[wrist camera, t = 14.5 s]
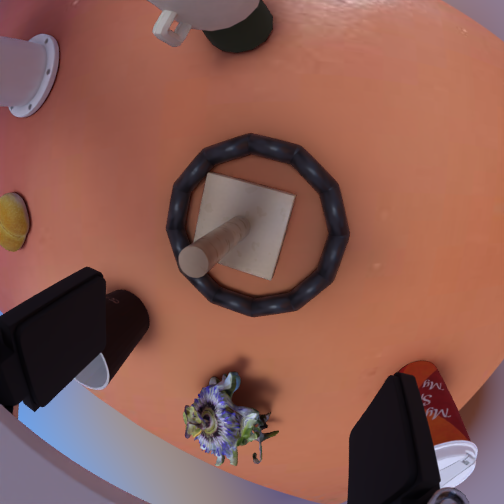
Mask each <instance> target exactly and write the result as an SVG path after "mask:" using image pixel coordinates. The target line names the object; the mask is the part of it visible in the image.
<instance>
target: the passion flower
mask: <svg viewBox="0 0 504 504" xmlns="http://www.w3.org/2000/svg"><path fill="white" fill-rule="evenodd" d="M240 383H241V379H240V376H239V374H238V373H237V372H230V373H229V375H228V376H227V374H223V377H222V381H220V380H219V379H217V378H216V377H212V378H211V379H210V382H209V386H207V387H205V388H202V390H201V393H200V394H198V396H199V397H198V399H195V401H194V403H193V404H192V405H191V406H190V407H189V406H188V405H186V406H185V410H184V413H183V417H184V422H185V424H186V432H185V437H186V438H189V437H190V436H191V435H193V437H195V439H194V441H195V440H196V439H199V443H200V448H201V449H203V450H206V451H205V452H207V453H209V452H210V451H211V450H212V453H211V454H213V453H214V455H215V453H216V456H217V457H218V458H217V461H216V462H217V463H216V464H215V465H216V466H220V465H221V464H222V463H223V462H224V459H225V456H224V455H226V457H227V458H228V459H229V460H230V464H232V465H235V466H236V465H237V463H238V452H237V446H239V445H241V446H243V445H246V444H247V443H248V442H249V441H250V442H252V441H253V440H256V441H259V446H260V448H259V450H260V461H259V460H258V459H257V458H256V456H257V454H256V453H254V454H253V462H254V463H257V464H259V463H260V462H261V460H262V446H261V442H262V441H264V440H266V439H268V438H270V437H273V436H275V435H276V434H278V432H279V431H273V432H270V433H261V430H263V429H265V428H268V425H267V424H266V421H267V420H268V419H269V416H270V414H271V412H270V413H268V414H267V415H259V411H257V410H256V409H254V408H249V407H245V406H237V405H235V404H233V402H232V395H233V393H234V392H235V391H236V390H237V389H238V388H239V385H240ZM256 424H259V425H258V427H255V425H256ZM252 430H253V431H254V434H253V432H252ZM203 450H202V451H203Z"/></svg>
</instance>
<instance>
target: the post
mask: <svg viewBox="0 0 504 504" xmlns="http://www.w3.org/2000/svg"><path fill="white" fill-rule="evenodd" d="M295 198H296V194H292V193H289V192H286V191H282V190H279V189H275V188H272V187H268V186H264V185H261V184H257V183H254V182H250V181H246V180H242V179H239V178H235V177H231V176H227V175H223V174H219V173H215V172H208V173H207V177H206V182H205V187H204V191H203V196H202V201H201V206H200V211H199V216H198V221H197V226H196V231H195V237H194V242H193V243H192V244H190V245H188V246H187V247H185V248H184V249H183V250H182V251H181V252H180V255H179V265H180V268H181V269H182V271H183V272H184V273H185V274H186V275H188V276H190V277H193V278H199V277H202V276H204V275H205V274H206V273H207V272H208V271H209V270H210V269H211V268H212V267H213V266H215V265H216V264H217V263H219V264H222V265H225V266H228V267H231V268H234V269H237V270H240V271H243V272H246V273H249V274H252V275H255V276H258V277H261V278H264V279H267V280H271V279H272V277H273V275H274V271H275V268H276V265H277V261H278V258H279V254H280V251H281V247H282V244H283V241H284V237H285V234H286V230H287V227H288V223H289V219H290V216H291V212H292V209H293V205H294V202H295Z"/></svg>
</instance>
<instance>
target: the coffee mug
mask: <svg viewBox="0 0 504 504" xmlns="http://www.w3.org/2000/svg"><path fill="white" fill-rule="evenodd" d="M148 328H149V315H148V312H147V310H146V308H145V306H144V304H143V303H142V302H141V300H140V299H139V298H138V297H137V296H135V295H134V294H132V293H131V292H129V291H126V290H116V291H114V292H112V293H109V294H107V295H106V346H105V348H104V350H103V351H102V352H101V353H100V354H99V355H98V356H97V357H96V358H95V359H94V360H93V361H92V362H91V363H90V364H88V365H87V366H86V367H85V368H84V369H83V370H82V371H81V372H80V373H79V374H78V375H77V376H76V377H75V378H74V379H75V380H76V381H77V382H79V383H80V384H82V385H83V386H85V387H88V388H90V389H94V390H101V389H104V388H105V387H106V386H107V385H108V384H109V382H110V381H111V380H112V378H113V377H114V375H115V374H116V373H117V371H118V370H119V368H120V367H121V366H122V364H123V363H124V362H125V360H126V359H127V357H128V356H129V355H130V353H131V352H132V351H133V349H134V348H135V346H136V345H137V344H138V342H139V341H140V340H141V338H142V337H143V336H144V334H145V333H146V332H147V330H148Z"/></svg>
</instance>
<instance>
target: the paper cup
mask: <svg viewBox="0 0 504 504" xmlns="http://www.w3.org/2000/svg"><path fill="white" fill-rule="evenodd" d="M399 372H401V373H405V374H410V375H413V376H415V378H416V382H417V385H418V388H419V392H420V395H421V399H422V402H423V406H424V409H425V413H426V417H427V421H428V424H429V428H430V432H431V436H432V441H433V445H434V449H435V454H436V458H437V463H438V468H439V473H440V478H441V482H440V483H439V484H440V489H441V488H445V487H451V488H454V487H455V486H457V485H459V484H460V483H461V482H463V481H464V480H465V479H466V478H467V477H468V476H469V475H470V474H471V473H472V472H473V470H474V468H475V464H476V457H477V453H478V450H477V446H476V445H475V444H474V443H472V442H471V441H470V438H469V436H468V433H467V431H466V429H465V426H464V424H463V421H462V419H461V417H460V414H459V412H458V409H457V407H456V405H455V403H454V401H453V398H452V396H451V394H450V392H449V390H448V388H447V386H446V384H445V382H444V380H443V378H442V377H441V375H440V373H439V371H438V369H437V368H436V366H435V365H434V364H432V363H431V362H428V361H417V362H413V363H410V364H408V365H406V366H405V367H403V368H402V369H401V370H400V371H399Z"/></svg>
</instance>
